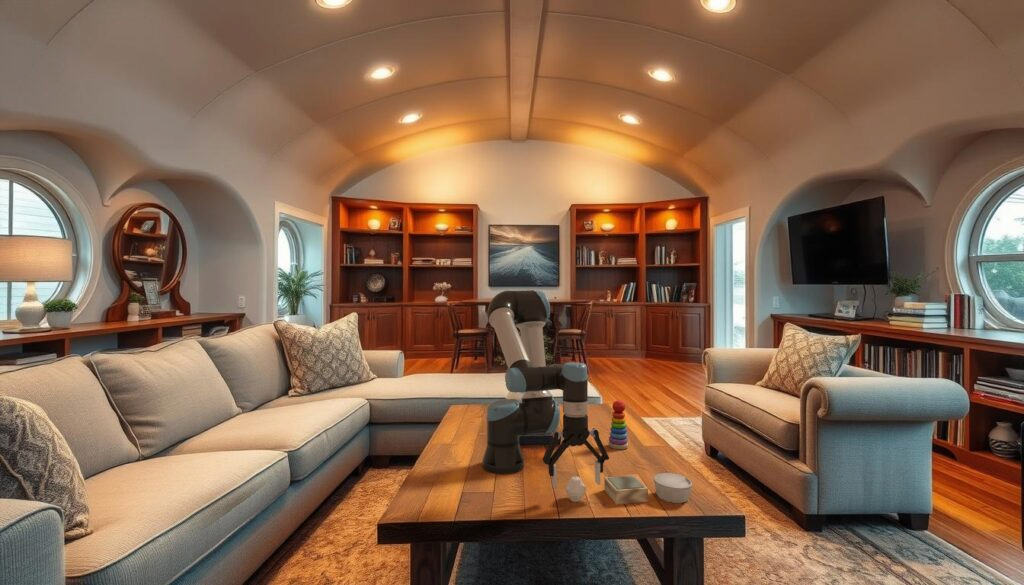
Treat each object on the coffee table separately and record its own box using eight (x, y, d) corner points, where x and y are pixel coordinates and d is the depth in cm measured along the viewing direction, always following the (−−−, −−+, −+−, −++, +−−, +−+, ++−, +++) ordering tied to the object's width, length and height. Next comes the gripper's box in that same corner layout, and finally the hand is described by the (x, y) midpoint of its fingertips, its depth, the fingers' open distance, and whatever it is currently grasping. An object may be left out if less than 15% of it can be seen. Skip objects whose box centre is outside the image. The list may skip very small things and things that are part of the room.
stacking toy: (630, 450, 184) (630, 403, 184) (610, 450, 184) (610, 403, 184) (626, 443, 192) (626, 398, 192) (606, 443, 192) (606, 398, 192)
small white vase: (573, 493, 145) (573, 471, 145) (589, 499, 141) (589, 476, 141) (561, 499, 141) (561, 476, 141) (577, 506, 137) (577, 482, 136)
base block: (616, 504, 138) (616, 490, 138) (604, 489, 148) (604, 476, 148) (648, 501, 139) (647, 487, 139) (634, 487, 149) (634, 474, 149)
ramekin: (695, 506, 136) (695, 488, 136) (656, 504, 138) (656, 486, 138) (687, 490, 147) (687, 473, 147) (651, 488, 149) (651, 471, 149)
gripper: (537, 419, 135) (538, 492, 135) (619, 415, 139) (620, 486, 139) (532, 413, 142) (533, 482, 142) (610, 409, 146) (611, 477, 146)
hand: (576, 484), depth 140 cm, fingers open, 13 cm apart
